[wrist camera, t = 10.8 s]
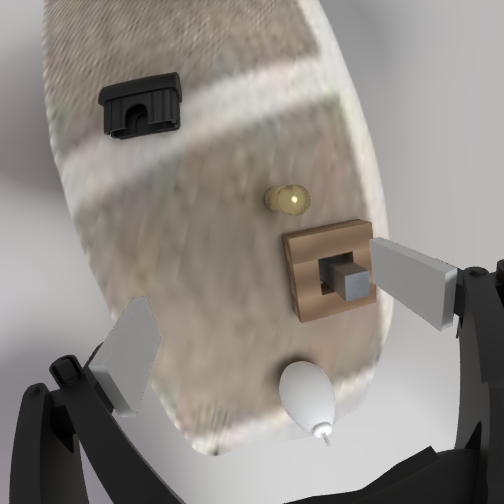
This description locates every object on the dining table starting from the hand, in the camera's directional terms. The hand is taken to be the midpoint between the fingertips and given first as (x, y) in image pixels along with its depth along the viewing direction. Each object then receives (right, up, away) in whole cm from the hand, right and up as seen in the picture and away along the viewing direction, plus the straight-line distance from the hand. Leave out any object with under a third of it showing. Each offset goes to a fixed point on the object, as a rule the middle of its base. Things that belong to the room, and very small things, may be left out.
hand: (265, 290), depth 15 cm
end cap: (-15, +22, +18) cm, 32 cm away
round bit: (+3, +9, +23) cm, 25 cm away
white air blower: (+7, -18, +29) cm, 35 cm away
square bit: (+10, 0, +26) cm, 28 cm away
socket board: (+10, 0, +26) cm, 28 cm away
